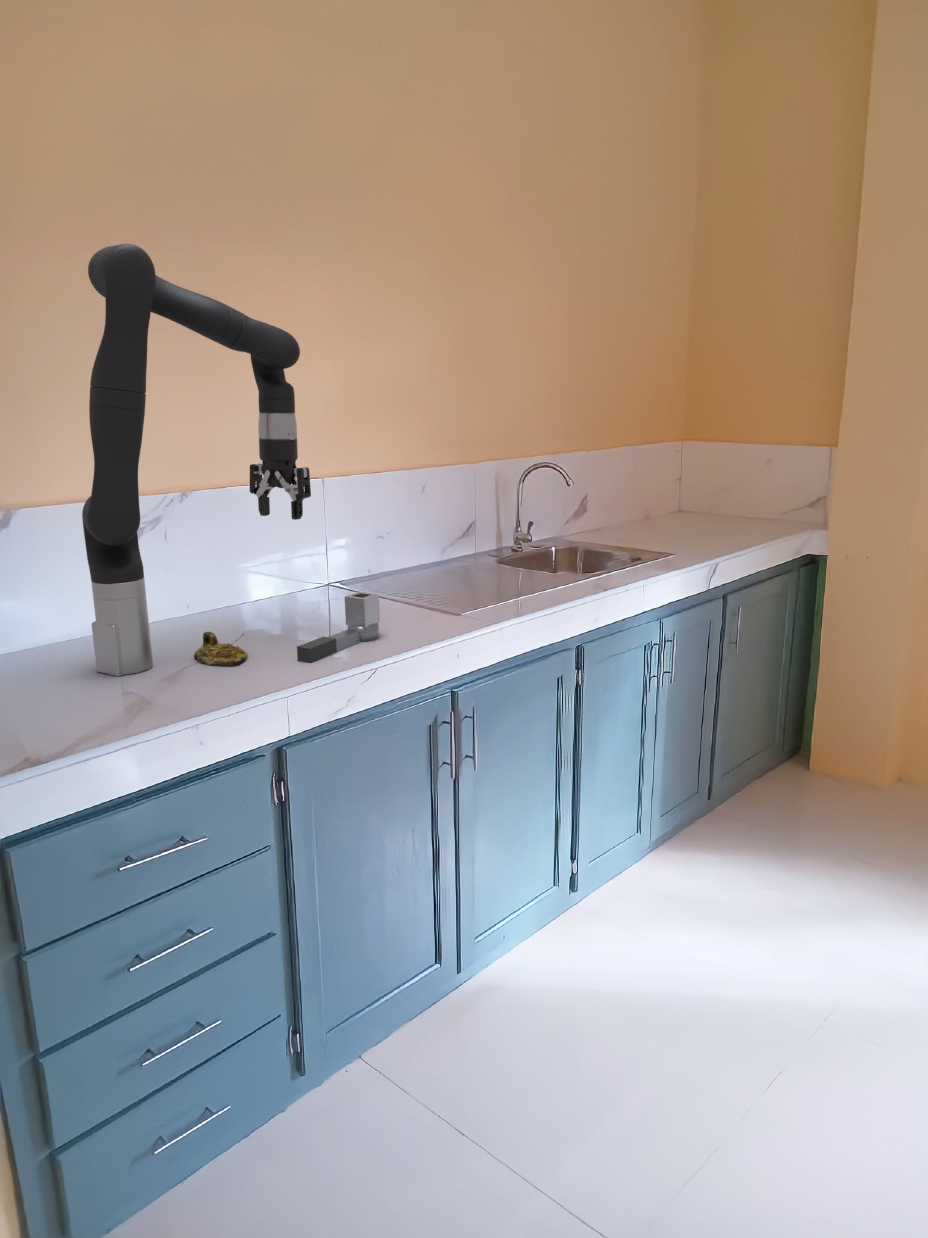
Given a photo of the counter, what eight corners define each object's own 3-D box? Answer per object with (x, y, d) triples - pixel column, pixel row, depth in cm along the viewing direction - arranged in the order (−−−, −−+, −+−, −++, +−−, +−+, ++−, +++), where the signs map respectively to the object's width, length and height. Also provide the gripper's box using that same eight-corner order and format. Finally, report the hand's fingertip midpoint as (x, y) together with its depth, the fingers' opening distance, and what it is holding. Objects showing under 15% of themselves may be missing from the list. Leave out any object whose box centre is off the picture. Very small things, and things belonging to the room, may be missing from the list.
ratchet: (360, 631, 200) (359, 602, 198) (385, 635, 197) (384, 605, 195) (291, 659, 182) (289, 626, 180) (317, 664, 178) (315, 631, 177)
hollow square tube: (365, 627, 192) (364, 599, 190) (345, 624, 194) (344, 596, 193) (379, 622, 196) (378, 594, 194) (360, 619, 198) (359, 591, 197)
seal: (260, 667, 181) (225, 650, 192) (261, 643, 180) (225, 627, 191) (215, 672, 175) (181, 654, 186) (216, 648, 174) (181, 631, 185)
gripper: (238, 435, 188) (241, 516, 192) (292, 438, 181) (295, 522, 185) (264, 433, 194) (267, 512, 198) (317, 436, 187) (319, 518, 191)
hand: (280, 517), depth 191 cm, fingers open, 8 cm apart
